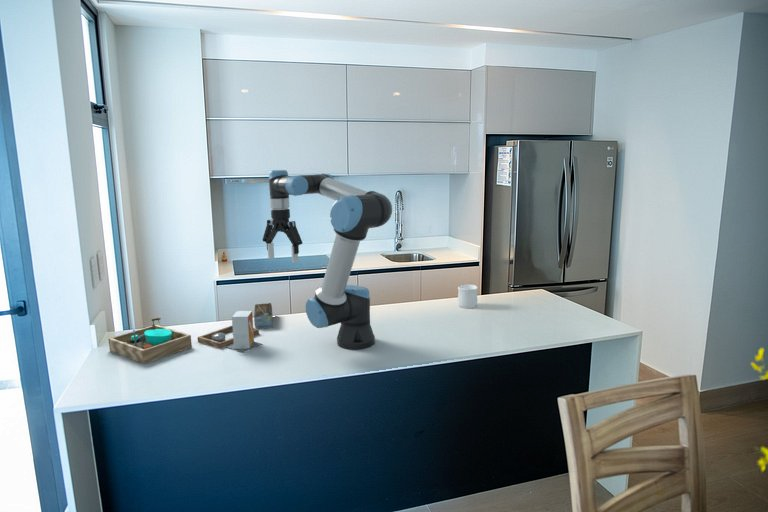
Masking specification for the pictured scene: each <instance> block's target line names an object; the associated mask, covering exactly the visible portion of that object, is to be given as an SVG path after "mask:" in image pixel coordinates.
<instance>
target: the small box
mask: <svg viewBox="0 0 768 512" xmlns="http://www.w3.org/2000/svg"><path fill="white" fill-rule="evenodd" d="M231 321H232V322H231V324H232V325H231V326H233V331H232V338H233V340H234V349H246V348H250V347H251V345H252V344H253V342H255V336H254V332H253V328H254V314H253V310H237V311H235V313H234V314H233V315H232V317H231Z"/></svg>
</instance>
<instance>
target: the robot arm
mask: <svg viewBox="0 0 768 512" xmlns="http://www.w3.org/2000/svg"><path fill="white" fill-rule="evenodd" d="M268 185H269V188H268V189H269V201H270V215H271V216H270V217H271V219H267V220H266V227H265V230H264V233H263V236H262V242H265V244H266V250H267V255H268V256H267V259H268V260H271V259H275V250H274V248H275V247H274V246H275V245H274V242H273V240H274V239H275V237H276V236H277V234H278V233H284V234H285V236H286V237H287V238H288V240H289V242H290V243H291V246H290V247H291V263H296V262H299V253H300V250H299V246H300V245H303V239H302V238H301V235H300V233H299V231H298V228H297V223H296V221H295V220H293V221H292V220H291V221H290V218H291V210H290V209H289V208H290V196H294V197H296V196H297V197H298V196H302V195H313V194H318V195H321V196H323V197H326V198H329V199H330V200H331V199H332V200H333V201H334V202H333V204H332V206H331V209H330V213H329V217H330V218H331V219H330V224H331V225H332V227H333V231H334V233H335V238H334V240H333V245H332V249H331V252H330V255H329V260H328V262H327V265H326V266H327V267H326V270H325V274H324V278H323V281H322V284H321V285H320V286H318V287H317V289H316V290H315V293H314V297H310V298H309V299H307V300H306V302H305V306H304V308H305V313H306V316H307V319H308V321H309V323H310V324H311V325H312V326H313V327H315V328H316V329H322V328H328V327H330V326H334V325H338V324H340V326H339V330H338V333H337V337H336V344H337V346H339V347H341V348H343V349H347V350H362V349H366V348H370V347H372V346H373V345H375V343H376V340H375V339H376V337H375V334H374V332H373V328H372V325H371V296H370V290H369V288H367V287H365V286H362V285H352V284H348V281H349V278H350V275H351V272H352V268H353V266H354V265H353V264H354V262H355V260H356V259H355V258H356V256H357V252H358V249H359V246H360V243H361V241H364V240H365V239H366V238H367V234H368V232H369V230H370V229H373V228H379V227H383V226H384V225H385V224H386V223H388V221H389V220H390V219H391V218H392V213H393V204H392V202H391V201H390V199H389V198H388V197H387V196H386V195H385V194H383V193H379V192H378V191H375V190H370V191H367V190H364V189H361V188H359V187H355V186H353V185H351V184H347V183H345V182H341V181H339V180H336V179H335V177H334V176H333V175H331V174H328V173H326V174H325V173H319V174H318V173H317V174H297V175H295V174H294V175H289V173H288V171H287V169H278V170H277V169H275V170H270V171H269V172H268Z"/></svg>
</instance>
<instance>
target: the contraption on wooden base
mask: <svg viewBox="0 0 768 512" xmlns="http://www.w3.org/2000/svg"><path fill="white" fill-rule="evenodd" d="M160 320H161V317H157V318H151V322H152V324H151V326H155V325H157V324H154V323H155V322H154V321H158V324H160V323H161V321H160ZM132 331H133V336H131V338H132V339H131V340H129V341H128V343H129V344H130V345H133V346H136V347H138V348H141V349H147V348H150V347H153V346H156V345H159V344H162V343H165V342H168V341H171V340H170V338H171V335H172V332H171V331H170V330H167V329H154V330H147V331H145V332H144V334H142V335H140V336H139V337H138V335H135V331H136V329H133V330H132ZM144 337H145V338H146V340H145V341H146V343H143V341H142V338H144ZM125 343H126V342H125Z"/></svg>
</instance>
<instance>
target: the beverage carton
mask: <svg viewBox="0 0 768 512" xmlns="http://www.w3.org/2000/svg"><path fill="white" fill-rule="evenodd" d="M253 312H254V313H253V324H254V328H255V329H259V330H260V329H269V328H273V322H274V321H273V318H274V317H273V306H272V303H271V302H269V303H268V302H267V303H259V304H258V303H257V304H255V305H254V310H253Z"/></svg>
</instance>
